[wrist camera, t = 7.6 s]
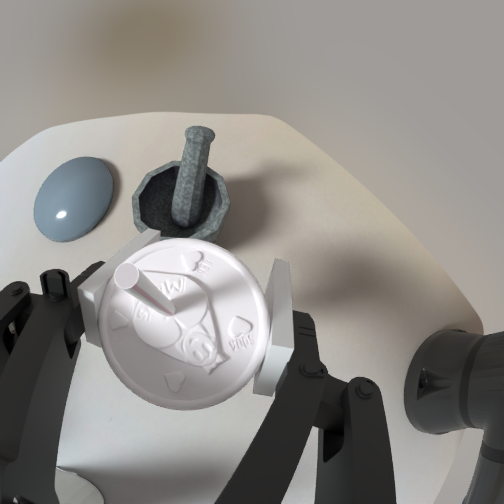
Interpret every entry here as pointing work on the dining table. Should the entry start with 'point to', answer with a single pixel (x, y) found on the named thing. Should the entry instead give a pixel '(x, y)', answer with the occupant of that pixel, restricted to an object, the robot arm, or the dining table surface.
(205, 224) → the mortar and pestle
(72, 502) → the paper towel roll
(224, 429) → the dining table surface
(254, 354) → the smoothie
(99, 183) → the dish
